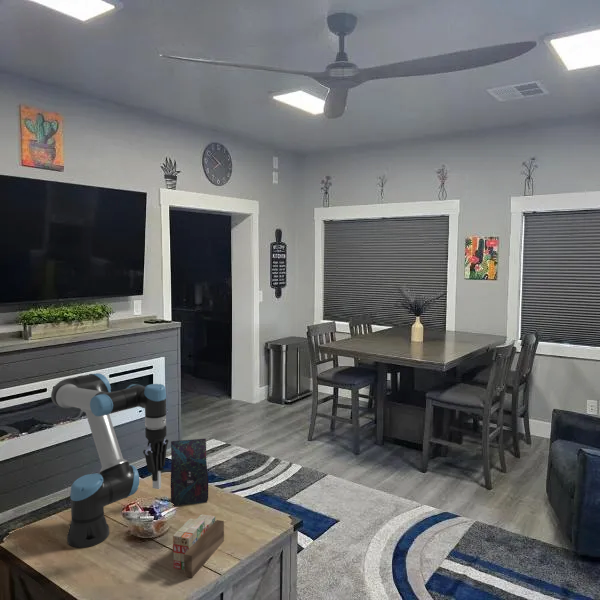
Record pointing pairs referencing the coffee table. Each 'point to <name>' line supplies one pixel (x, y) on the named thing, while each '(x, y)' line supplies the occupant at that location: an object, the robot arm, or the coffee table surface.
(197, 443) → the decorative box
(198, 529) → the stack of blocks
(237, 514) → the coffee table surface
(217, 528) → the walnut board
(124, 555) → the coffee table surface
